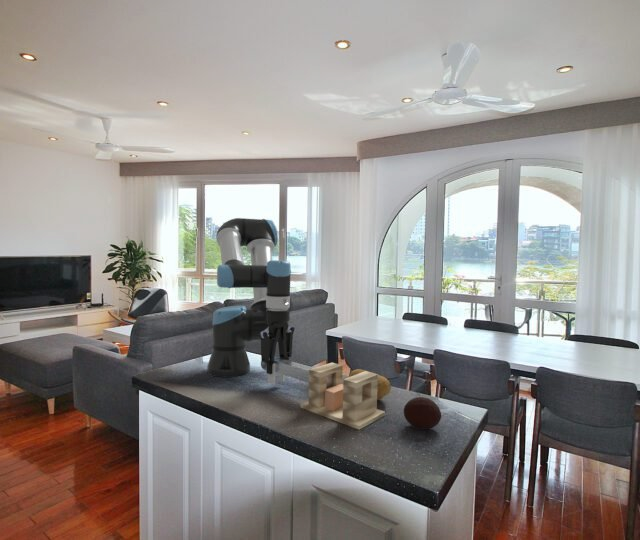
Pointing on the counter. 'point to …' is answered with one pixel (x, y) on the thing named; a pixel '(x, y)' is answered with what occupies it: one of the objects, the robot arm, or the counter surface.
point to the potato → (382, 385)
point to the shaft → (293, 370)
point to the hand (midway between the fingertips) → (276, 381)
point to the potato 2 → (422, 413)
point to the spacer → (334, 397)
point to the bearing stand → (345, 396)
